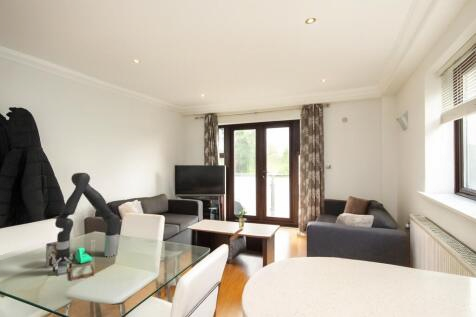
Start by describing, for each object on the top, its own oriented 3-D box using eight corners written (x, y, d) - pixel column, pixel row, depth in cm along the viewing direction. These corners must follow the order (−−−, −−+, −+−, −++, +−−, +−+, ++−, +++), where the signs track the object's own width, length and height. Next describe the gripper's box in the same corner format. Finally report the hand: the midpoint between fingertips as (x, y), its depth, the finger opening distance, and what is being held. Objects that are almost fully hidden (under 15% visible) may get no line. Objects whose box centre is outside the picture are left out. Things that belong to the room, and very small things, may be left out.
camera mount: (92, 261, 183) (93, 248, 182) (81, 264, 177) (81, 251, 176) (85, 256, 190) (86, 243, 190) (74, 259, 184) (75, 246, 184)
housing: (66, 268, 170) (66, 259, 170) (66, 274, 163) (67, 264, 163) (57, 270, 167) (58, 261, 167) (57, 276, 160) (57, 266, 160)
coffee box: (60, 261, 179) (61, 240, 179) (63, 264, 175) (64, 242, 175) (45, 265, 172) (46, 243, 171) (48, 268, 168) (49, 246, 167)
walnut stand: (91, 267, 174) (92, 264, 174) (93, 275, 164) (94, 272, 164) (70, 271, 167) (70, 268, 166) (70, 280, 156) (70, 277, 156)
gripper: (75, 242, 172) (74, 265, 172) (50, 246, 163) (49, 269, 164) (76, 246, 166) (74, 269, 166) (49, 250, 157) (48, 275, 158)
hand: (62, 269), depth 165 cm, fingers open, 8 cm apart
